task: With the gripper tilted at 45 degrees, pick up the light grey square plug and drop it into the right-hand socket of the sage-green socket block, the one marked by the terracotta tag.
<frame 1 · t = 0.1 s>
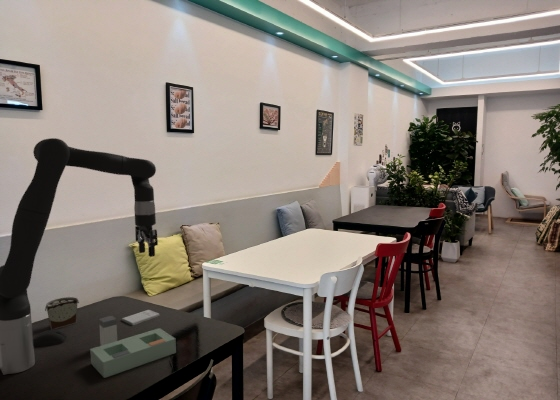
hand: (146, 254, 163), 29 cm above the table, tool pointing down, fingers open, 8 cm apart
socket block: (134, 358, 142), on the table
external hard drive: (140, 319, 176), on the table
plug: (109, 346, 151), on the table
computer mouse: (48, 343, 155), on the table
food container: (61, 324, 171), on the table
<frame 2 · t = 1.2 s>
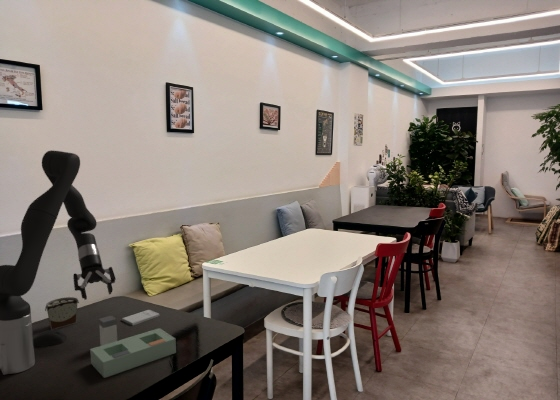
hand: (98, 296, 158), 15 cm above the table, tool tilted 40°, fingers open, 8 cm apart
nothing on the table moved.
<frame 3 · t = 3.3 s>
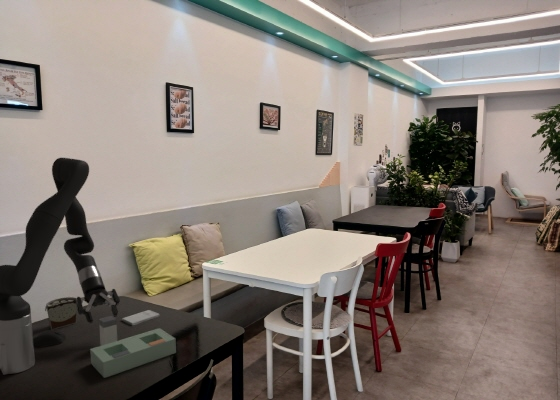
hand: (103, 319, 153), 9 cm above the table, tool tilted 45°, fingers open, 8 cm apart
nothing on the table moved.
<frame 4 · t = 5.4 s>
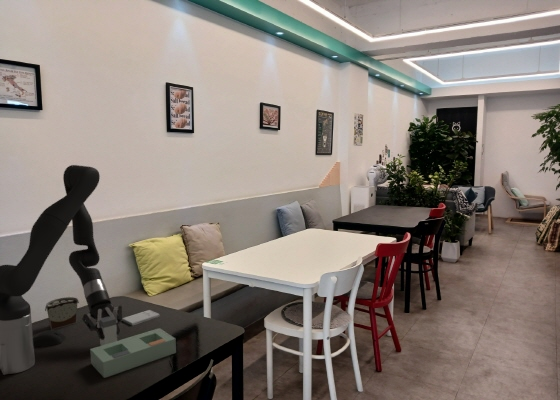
hand: (110, 336, 149), 4 cm above the table, tool tilted 45°, fingers closed on plug, 4 cm apart
plug: (109, 346, 151), on the table, touching gripper
everything else where it was.
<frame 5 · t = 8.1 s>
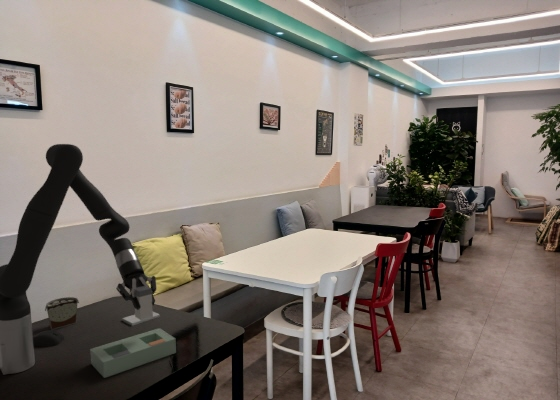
hand: (146, 306, 144), 16 cm above the table, tool tilted 45°, fingers closed on plug, 4 cm apart
plug: (144, 316, 146), point 12 cm above the table, touching gripper
everything else where it was.
when the fingers open (7 cm above the table, at t = 10.9 s): plug drops 2 cm, resting on socket block.
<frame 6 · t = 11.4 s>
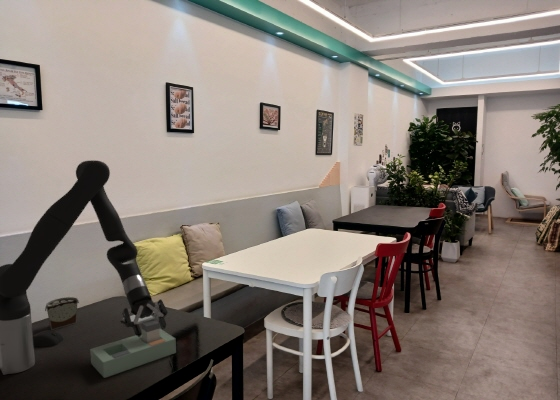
hand: (152, 332, 144), 8 cm above the table, tool tilted 45°, fingers open, 8 cm apart
plug: (151, 350, 145), resting on socket block
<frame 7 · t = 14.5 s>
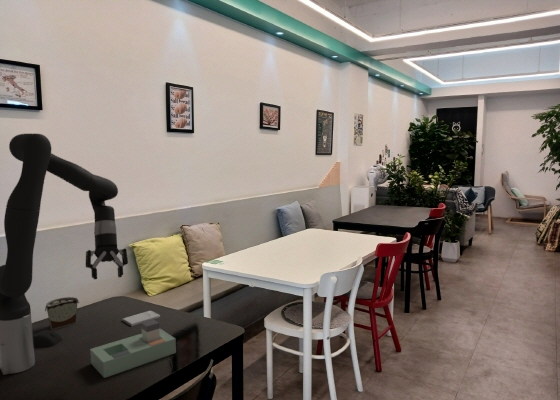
hand: (107, 278, 154), 23 cm above the table, tool tilted 20°, fingers open, 8 cm apart
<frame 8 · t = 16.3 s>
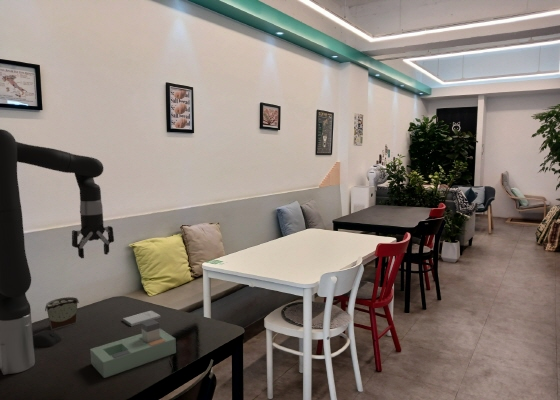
hand: (94, 256, 158), 30 cm above the table, tool pointing down, fingers open, 8 cm apart
at the end: plug 0.1 cm from the target spot on the socket block, point 0.5 cm above the socket block's base; plug tilted 0°; the gripper is holding nothing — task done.
